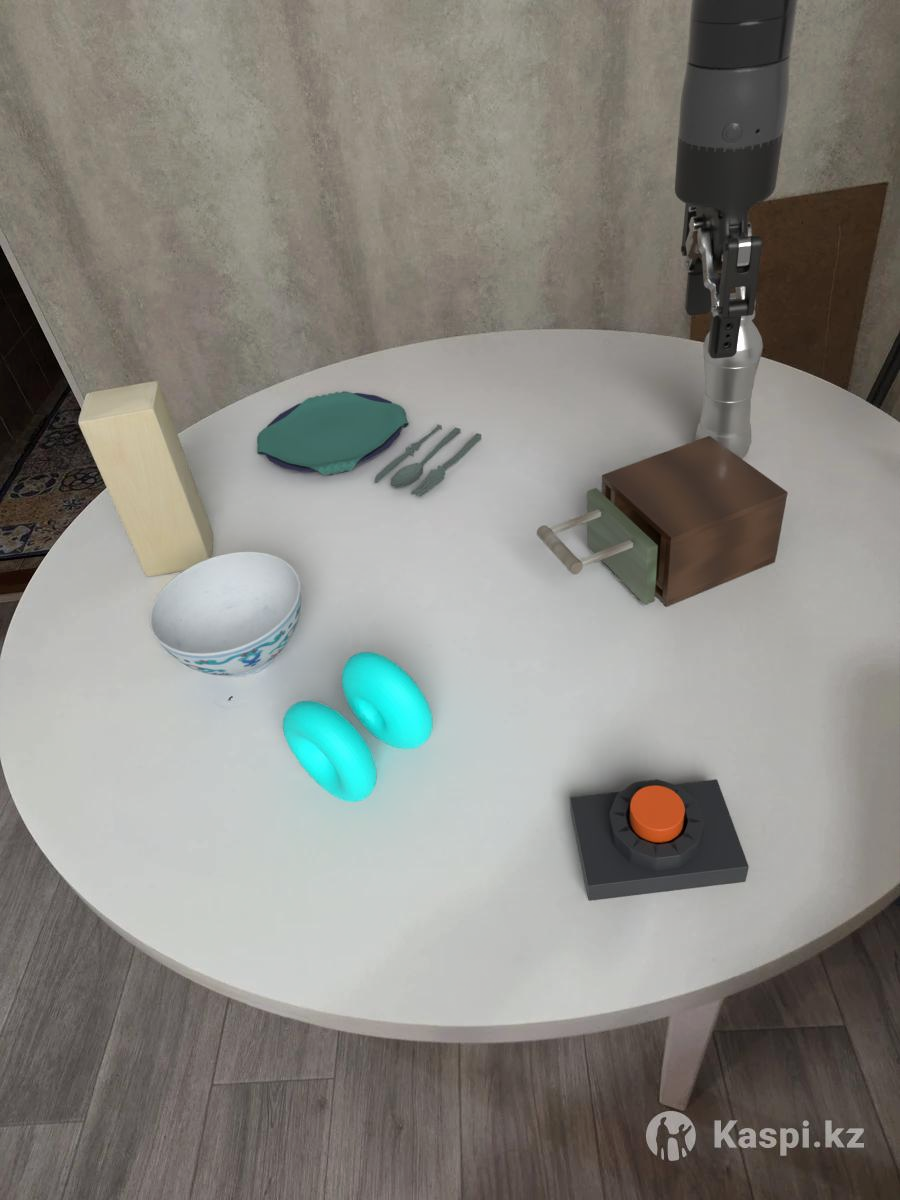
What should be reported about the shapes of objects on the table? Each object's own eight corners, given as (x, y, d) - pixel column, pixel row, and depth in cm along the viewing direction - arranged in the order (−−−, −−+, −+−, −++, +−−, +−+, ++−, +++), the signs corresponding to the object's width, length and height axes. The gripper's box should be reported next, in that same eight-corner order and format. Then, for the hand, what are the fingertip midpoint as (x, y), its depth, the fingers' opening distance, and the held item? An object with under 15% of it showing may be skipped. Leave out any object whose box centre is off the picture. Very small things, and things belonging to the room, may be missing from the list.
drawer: (582, 630, 86) (582, 575, 81) (529, 567, 94) (525, 513, 89) (746, 563, 91) (755, 507, 86) (682, 508, 99) (686, 454, 94)
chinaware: (346, 645, 90) (330, 589, 85) (227, 733, 83) (202, 678, 77) (262, 586, 98) (243, 533, 93) (148, 662, 91) (121, 609, 86)
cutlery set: (327, 393, 131) (324, 379, 129) (494, 437, 116) (492, 422, 114) (234, 460, 119) (229, 446, 118) (405, 518, 105) (402, 503, 103)
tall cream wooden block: (215, 529, 108) (158, 376, 94) (213, 565, 102) (152, 408, 88) (152, 541, 107) (85, 389, 93) (146, 578, 102) (74, 423, 88)
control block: (714, 794, 72) (719, 765, 69) (745, 882, 66) (752, 853, 63) (570, 812, 72) (569, 784, 69) (588, 901, 66) (588, 874, 63)
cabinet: (666, 607, 88) (671, 537, 82) (601, 541, 97) (601, 474, 91) (775, 562, 92) (788, 492, 85) (702, 502, 100) (709, 435, 94)
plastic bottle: (716, 477, 104) (733, 319, 90) (682, 452, 109) (694, 297, 95) (760, 461, 105) (784, 302, 92) (725, 436, 110) (743, 282, 97)
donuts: (291, 769, 78) (263, 697, 72) (369, 702, 84) (350, 628, 77) (367, 828, 73) (344, 755, 66) (446, 751, 78) (431, 677, 71)
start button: (675, 795, 68) (676, 782, 67) (689, 839, 65) (691, 826, 64) (624, 801, 68) (625, 788, 67) (636, 846, 65) (636, 833, 64)
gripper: (813, 149, 59) (777, 367, 70) (754, 99, 69) (731, 295, 80) (702, 162, 59) (683, 377, 70) (660, 110, 70) (649, 304, 81)
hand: (709, 333), depth 75 cm, fingers open, 8 cm apart
